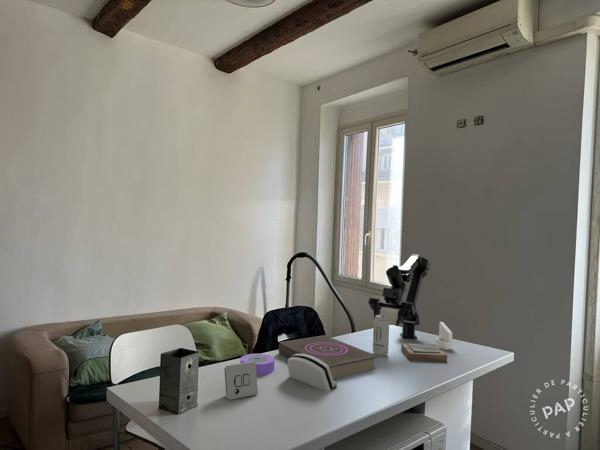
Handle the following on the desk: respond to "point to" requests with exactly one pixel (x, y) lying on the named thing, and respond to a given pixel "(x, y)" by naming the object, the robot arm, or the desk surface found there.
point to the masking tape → (260, 362)
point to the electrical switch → (241, 380)
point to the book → (331, 354)
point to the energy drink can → (381, 335)
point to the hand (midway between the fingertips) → (385, 323)
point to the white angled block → (444, 337)
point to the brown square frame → (423, 352)
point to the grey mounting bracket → (311, 371)
